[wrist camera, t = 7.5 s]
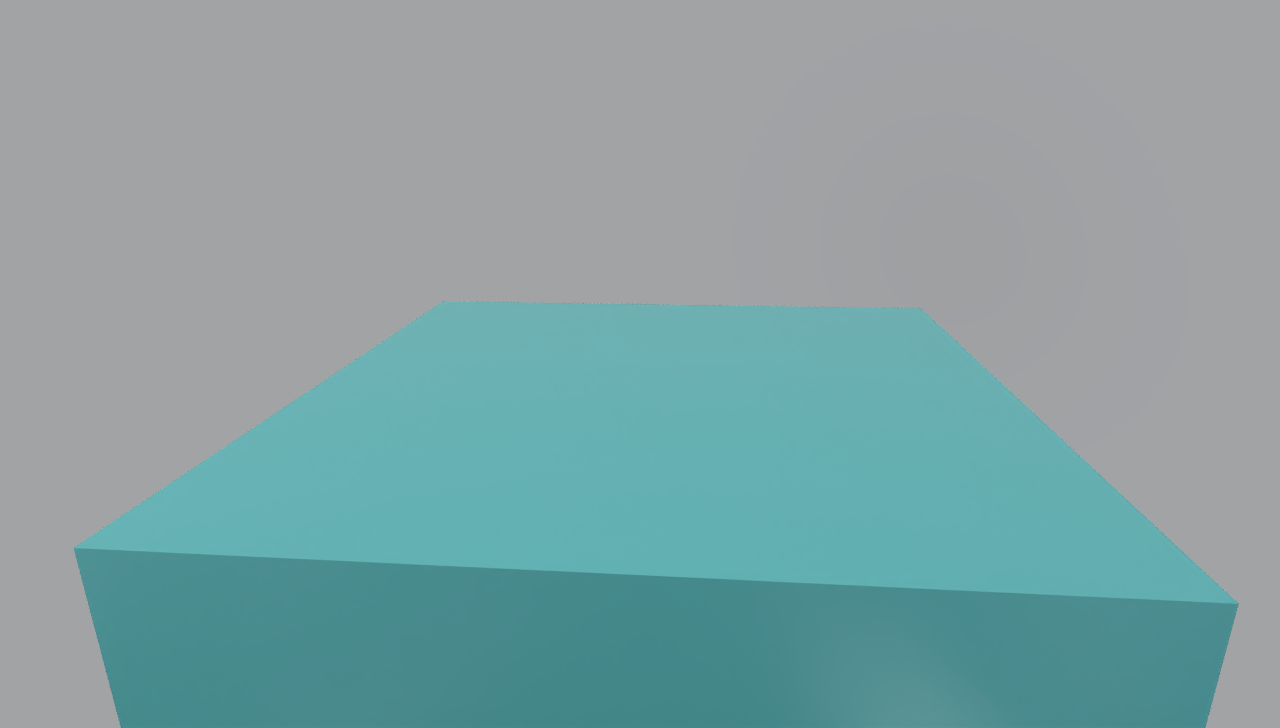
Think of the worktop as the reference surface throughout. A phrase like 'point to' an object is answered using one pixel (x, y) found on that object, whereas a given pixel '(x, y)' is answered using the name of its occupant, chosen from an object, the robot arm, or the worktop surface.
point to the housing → (652, 542)
